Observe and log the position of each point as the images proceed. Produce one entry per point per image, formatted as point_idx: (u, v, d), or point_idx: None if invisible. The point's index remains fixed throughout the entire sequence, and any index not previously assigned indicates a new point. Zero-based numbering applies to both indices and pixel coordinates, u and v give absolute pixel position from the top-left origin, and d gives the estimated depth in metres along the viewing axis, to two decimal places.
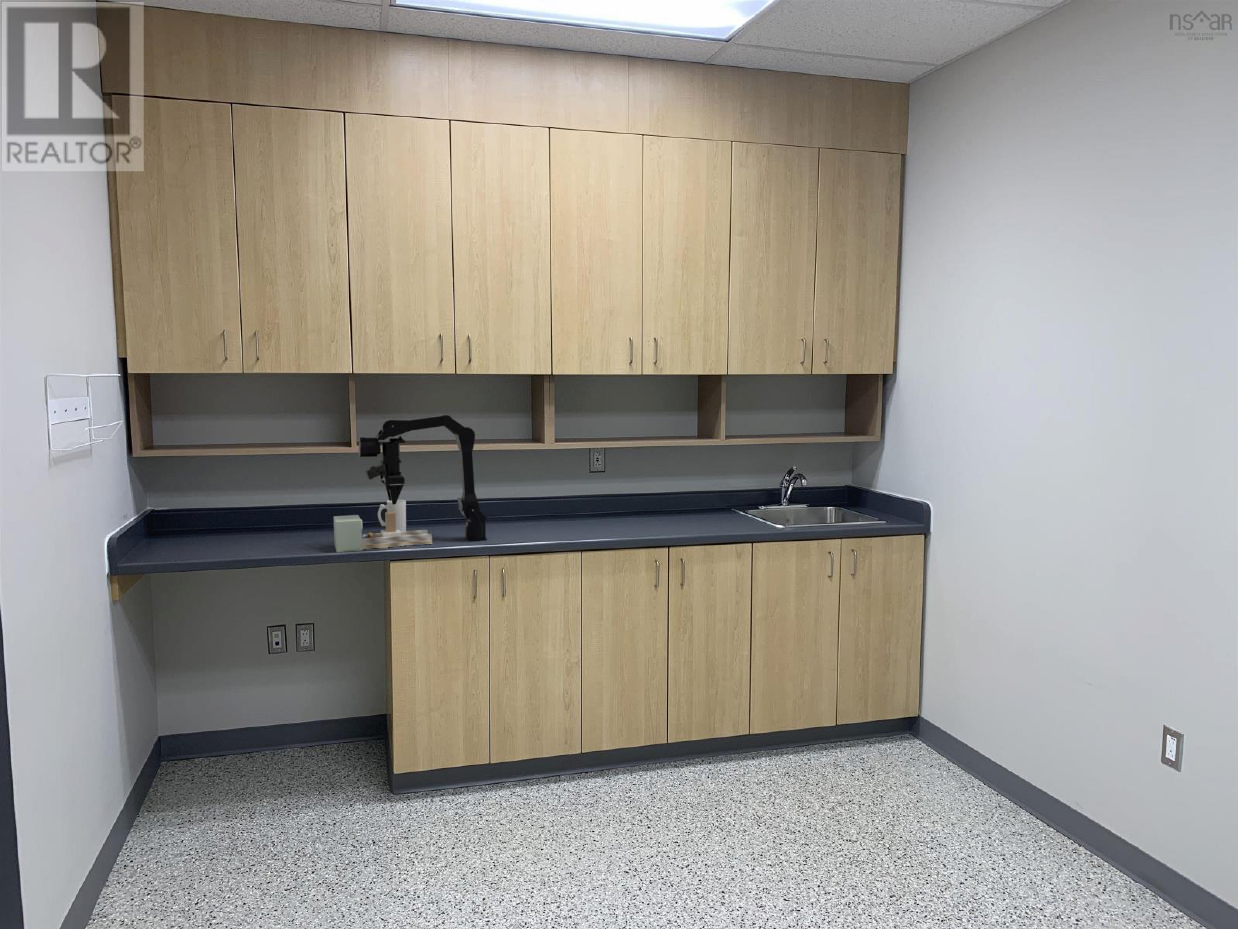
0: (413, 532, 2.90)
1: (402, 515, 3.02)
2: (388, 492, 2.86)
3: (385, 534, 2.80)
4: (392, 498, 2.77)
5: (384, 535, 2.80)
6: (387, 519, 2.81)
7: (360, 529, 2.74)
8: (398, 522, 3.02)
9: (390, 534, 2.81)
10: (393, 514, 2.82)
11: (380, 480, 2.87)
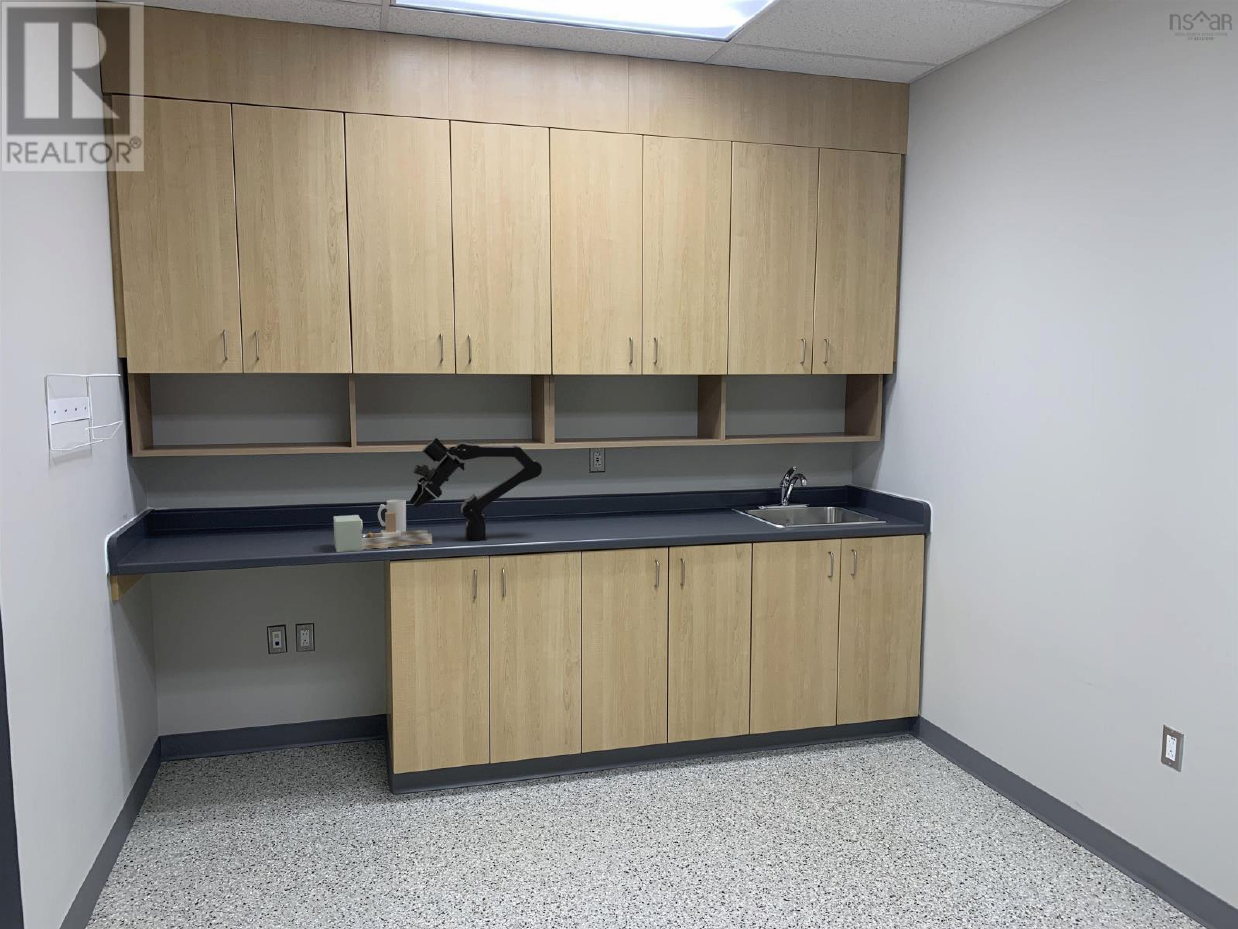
0: (413, 532, 2.90)
1: (402, 515, 3.02)
2: (414, 495, 2.90)
3: (385, 534, 2.80)
4: (417, 501, 2.81)
5: (384, 535, 2.80)
6: (387, 519, 2.81)
7: (360, 529, 2.74)
8: (398, 522, 3.02)
9: (390, 534, 2.81)
10: (393, 514, 2.82)
11: None
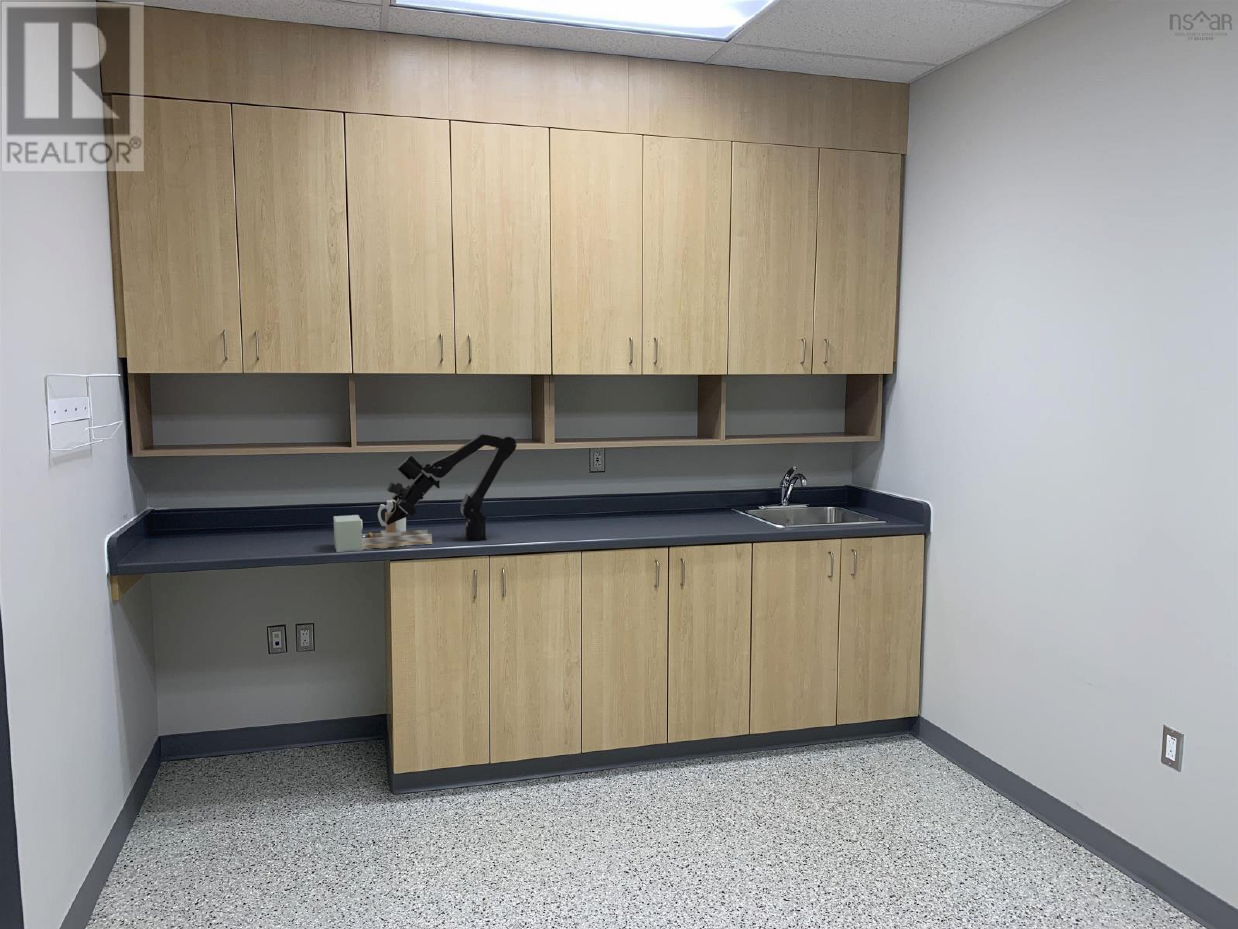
0: (413, 532, 2.90)
1: None
2: None
3: (385, 534, 2.80)
4: (390, 518, 2.81)
5: (384, 535, 2.80)
6: (387, 519, 2.81)
7: (360, 529, 2.74)
8: (398, 522, 3.02)
9: (390, 534, 2.81)
10: None
11: None
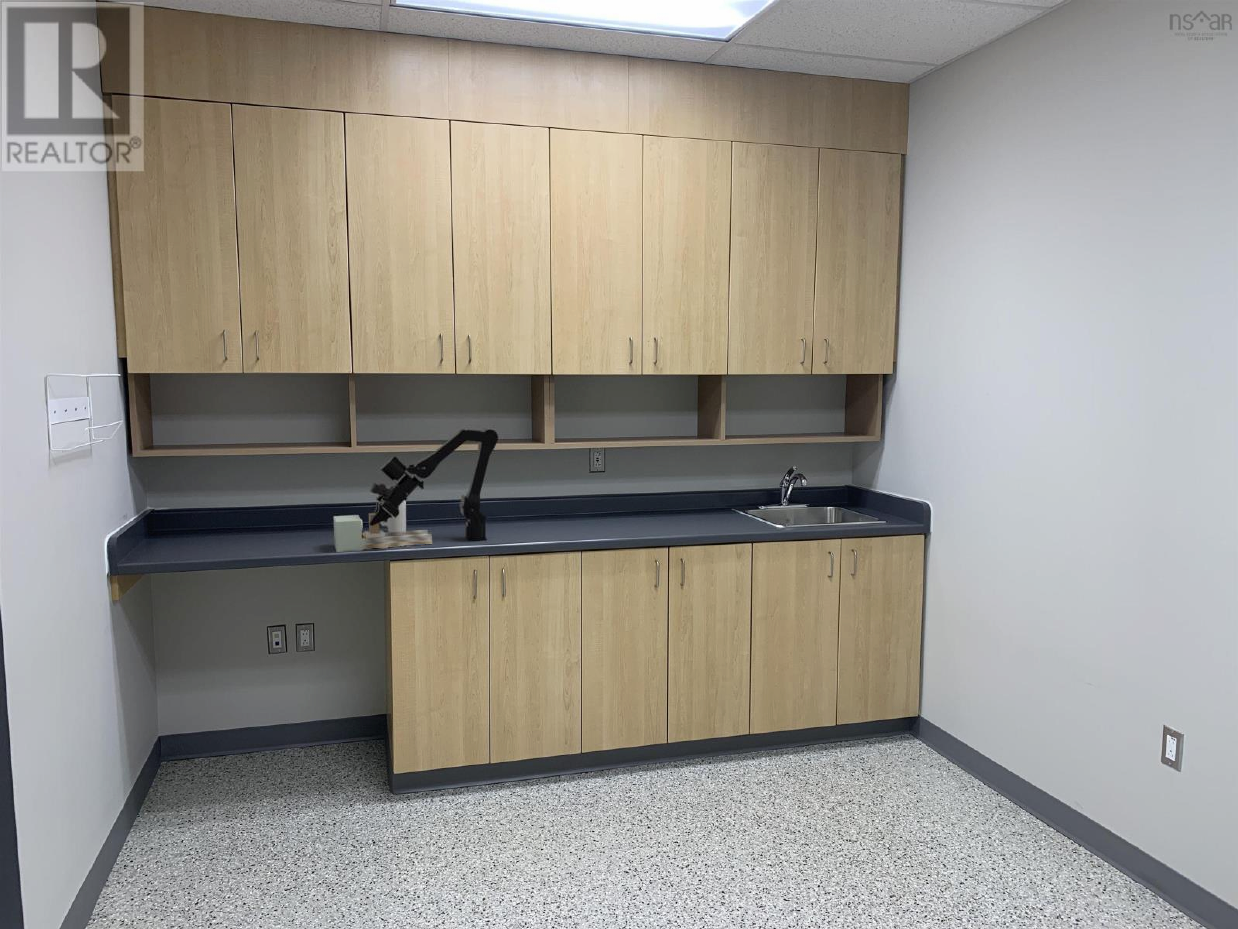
0: (413, 532, 2.90)
1: (402, 515, 3.02)
2: None
3: (368, 535, 2.78)
4: (373, 519, 2.79)
5: (367, 536, 2.78)
6: (370, 520, 2.79)
7: (360, 529, 2.74)
8: (398, 522, 3.02)
9: (373, 535, 2.79)
10: None
11: (376, 501, 2.85)
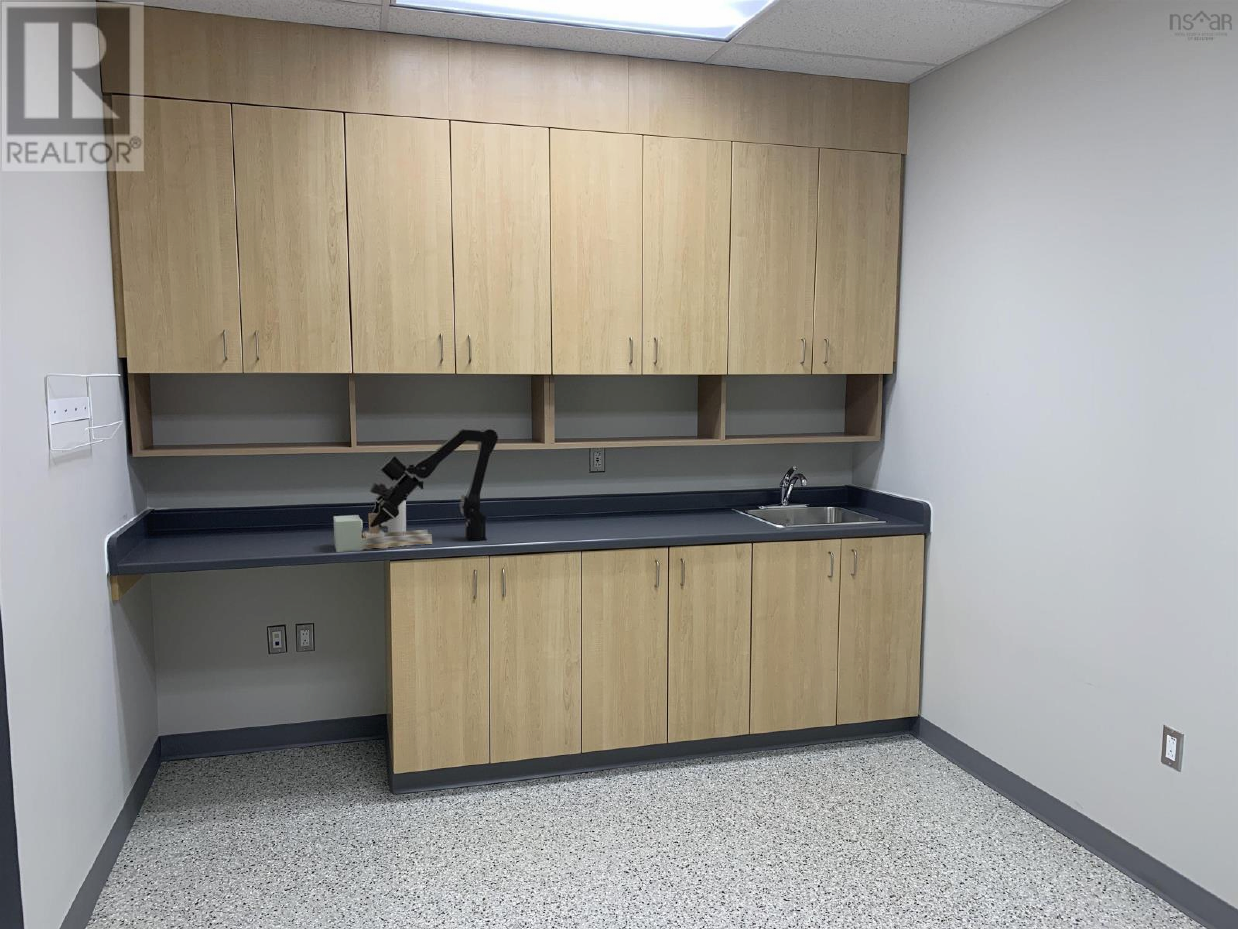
0: (413, 532, 2.90)
1: (402, 515, 3.02)
2: None
3: (368, 535, 2.78)
4: (374, 520, 2.76)
5: (367, 536, 2.78)
6: (370, 520, 2.79)
7: (360, 529, 2.74)
8: (398, 522, 3.02)
9: (373, 535, 2.79)
10: None
11: (375, 500, 2.87)
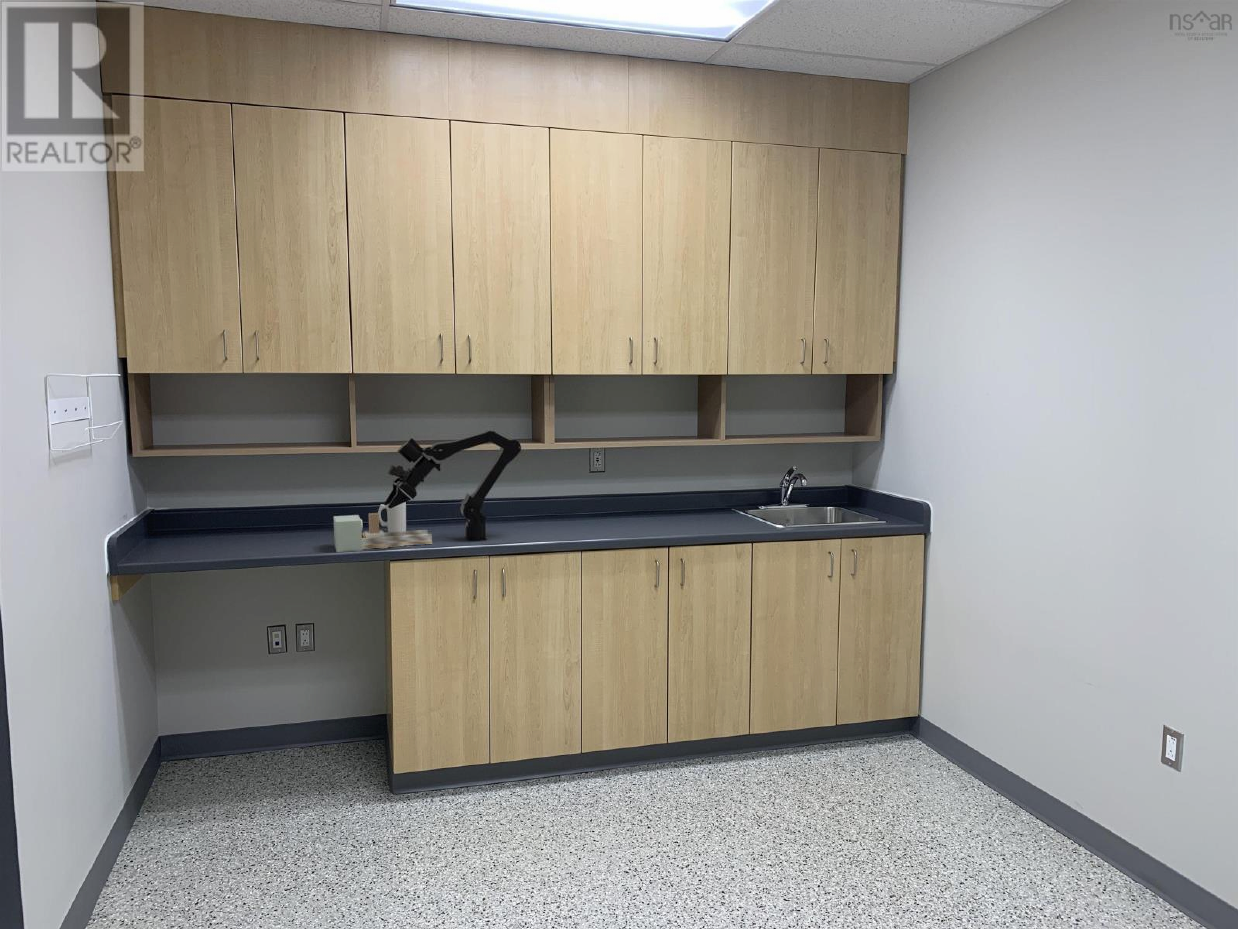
0: (413, 532, 2.90)
1: (402, 515, 3.02)
2: (390, 496, 2.87)
3: (368, 535, 2.78)
4: (392, 502, 2.78)
5: (367, 536, 2.78)
6: (370, 520, 2.79)
7: (360, 529, 2.74)
8: (398, 522, 3.02)
9: (373, 535, 2.79)
10: (376, 515, 2.80)
11: (392, 482, 2.89)
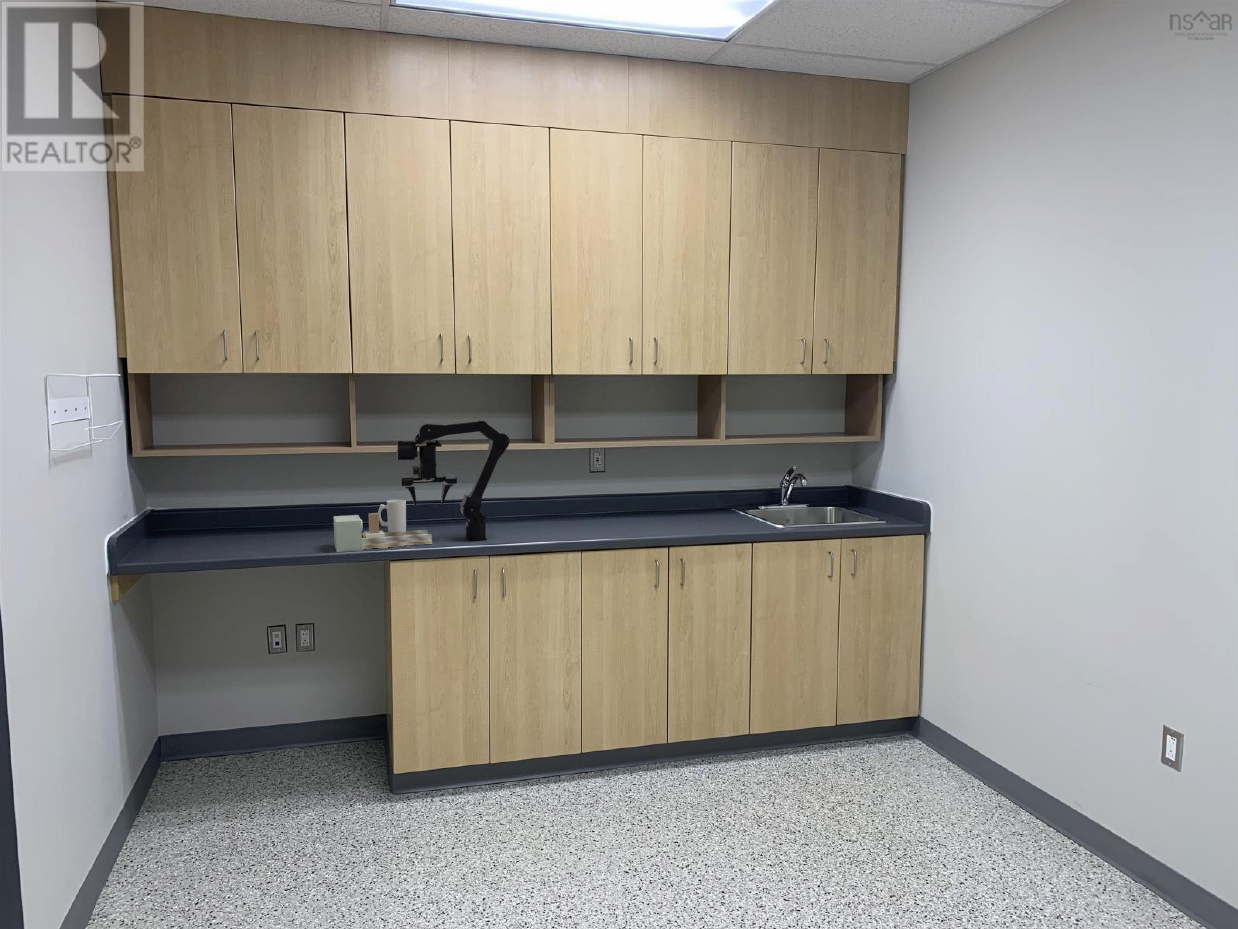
0: (413, 532, 2.90)
1: (402, 515, 3.02)
2: None
3: (368, 535, 2.78)
4: (412, 499, 2.86)
5: (367, 536, 2.78)
6: (370, 520, 2.79)
7: (360, 529, 2.74)
8: (398, 522, 3.02)
9: (373, 535, 2.79)
10: (376, 515, 2.80)
11: None
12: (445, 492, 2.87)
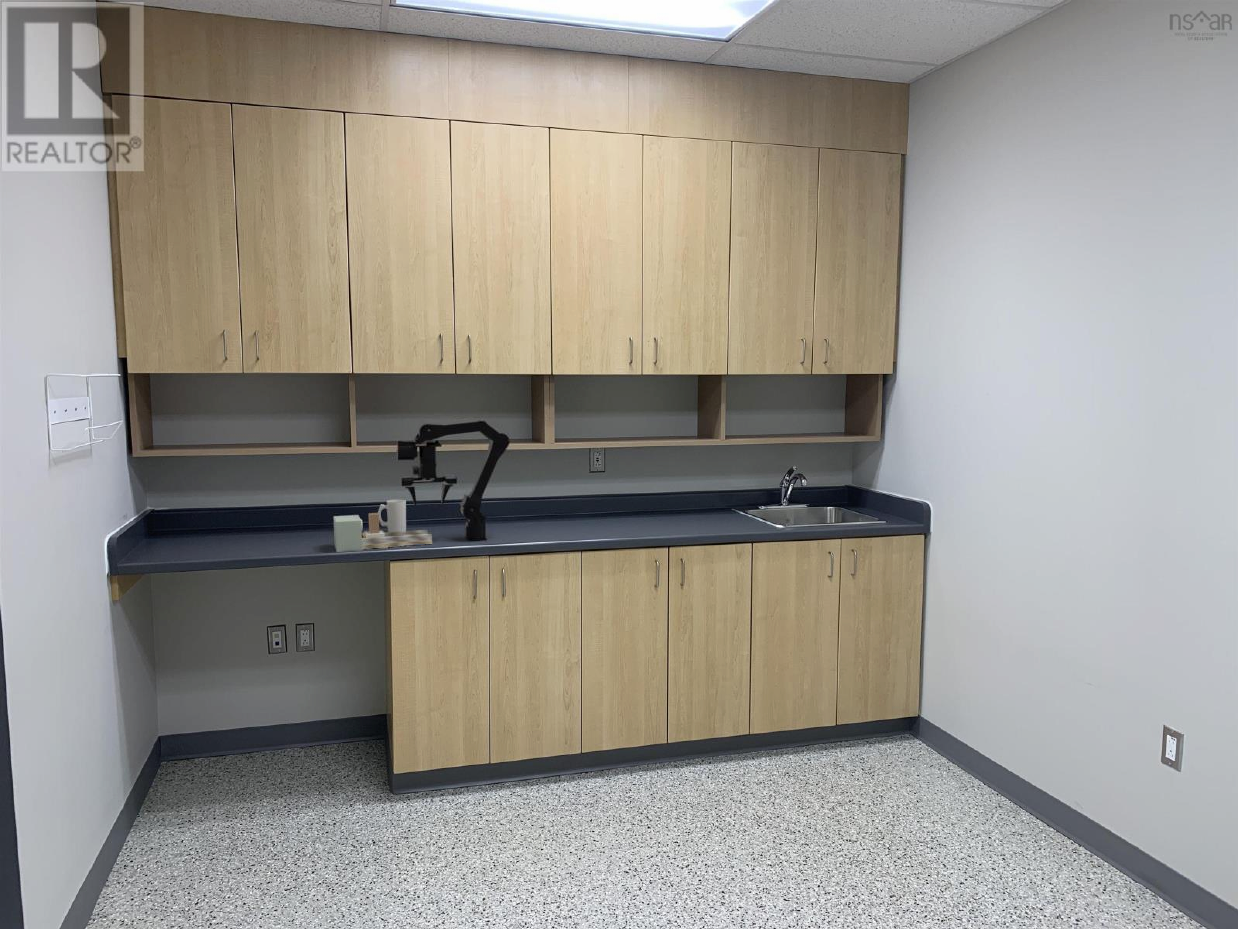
0: (413, 532, 2.90)
1: (402, 515, 3.02)
2: None
3: (368, 535, 2.78)
4: (412, 499, 2.86)
5: (367, 536, 2.78)
6: (370, 520, 2.79)
7: (360, 529, 2.74)
8: (398, 522, 3.02)
9: (373, 535, 2.79)
10: (376, 515, 2.80)
11: None
12: (445, 492, 2.87)
